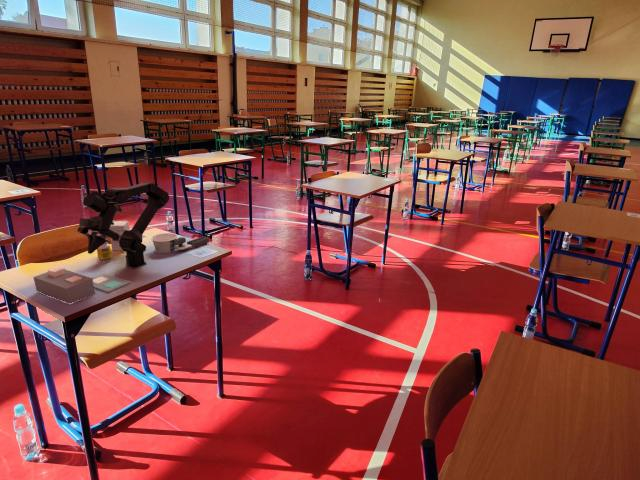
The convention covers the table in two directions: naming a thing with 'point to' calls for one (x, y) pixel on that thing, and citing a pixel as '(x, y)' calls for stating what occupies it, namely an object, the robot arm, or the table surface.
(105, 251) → the supplement bottle
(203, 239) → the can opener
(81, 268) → the table surface
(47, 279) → the console
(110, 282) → the pattern card
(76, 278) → the button
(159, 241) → the food container
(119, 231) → the white square tower
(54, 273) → the button
